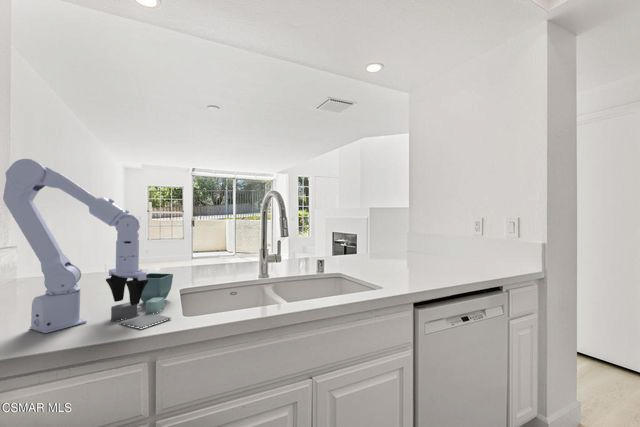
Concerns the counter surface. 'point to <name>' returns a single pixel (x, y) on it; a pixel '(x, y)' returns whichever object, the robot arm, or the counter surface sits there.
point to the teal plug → (154, 305)
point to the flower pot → (157, 286)
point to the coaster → (144, 320)
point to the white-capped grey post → (124, 311)
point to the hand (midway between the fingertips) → (126, 302)
